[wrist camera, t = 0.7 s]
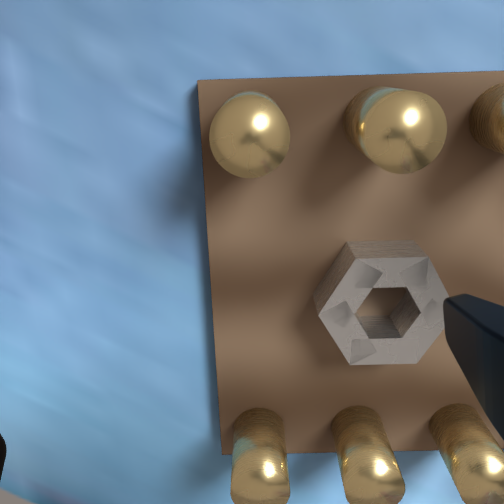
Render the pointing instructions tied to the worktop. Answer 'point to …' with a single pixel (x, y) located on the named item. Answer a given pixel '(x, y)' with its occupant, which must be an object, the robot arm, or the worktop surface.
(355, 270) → the steel nut
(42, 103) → the worktop surface
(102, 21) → the worktop surface
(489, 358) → the robot arm
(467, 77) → the board
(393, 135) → the brass spacers
